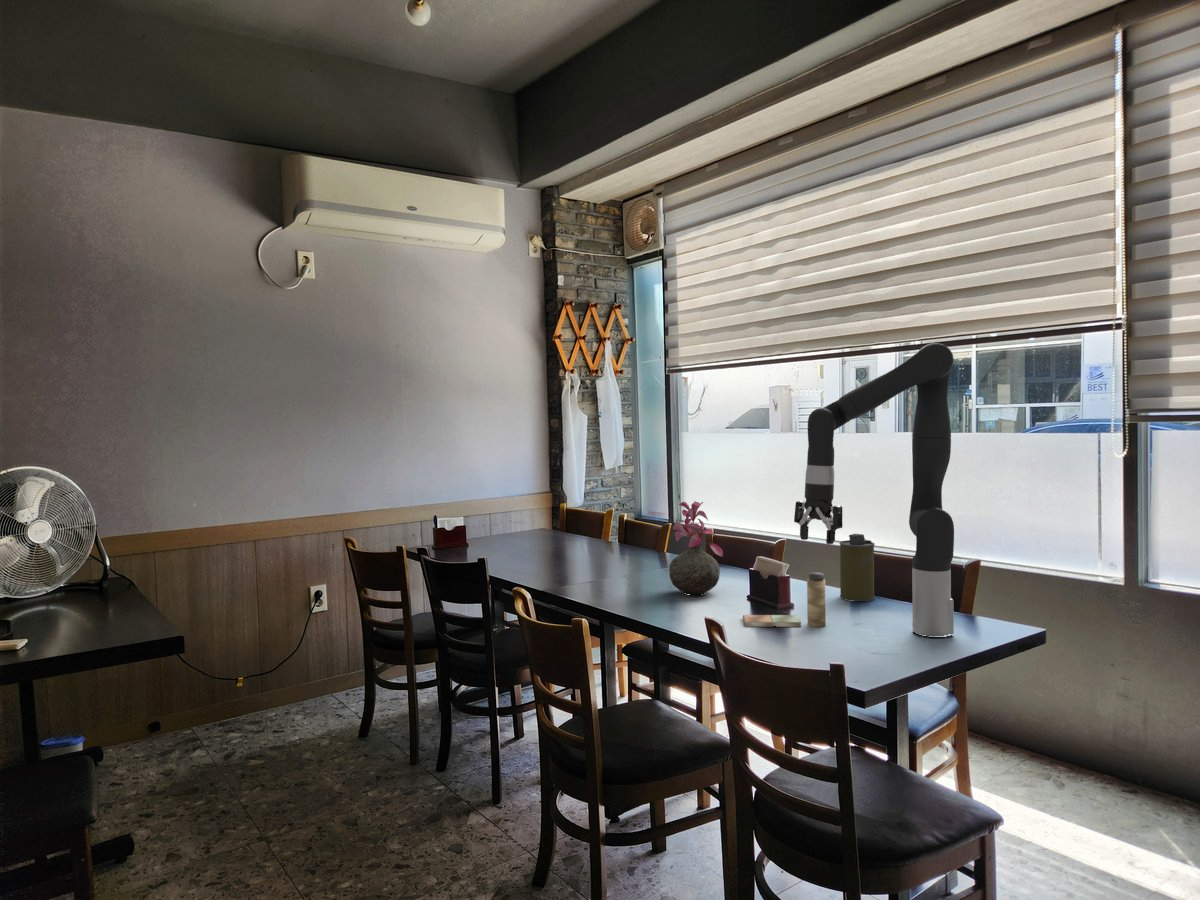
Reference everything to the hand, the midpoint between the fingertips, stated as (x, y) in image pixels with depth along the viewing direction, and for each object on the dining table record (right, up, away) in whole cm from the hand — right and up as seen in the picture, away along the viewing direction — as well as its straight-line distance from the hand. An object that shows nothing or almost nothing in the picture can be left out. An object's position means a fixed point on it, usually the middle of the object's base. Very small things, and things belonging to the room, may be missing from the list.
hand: (816, 541), depth 214 cm
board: (-11, -23, +6) cm, 26 cm away
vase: (-27, -22, +43) cm, 55 cm away
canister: (+22, -22, +33) cm, 45 cm away
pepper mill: (+1, -23, +3) cm, 23 cm away
